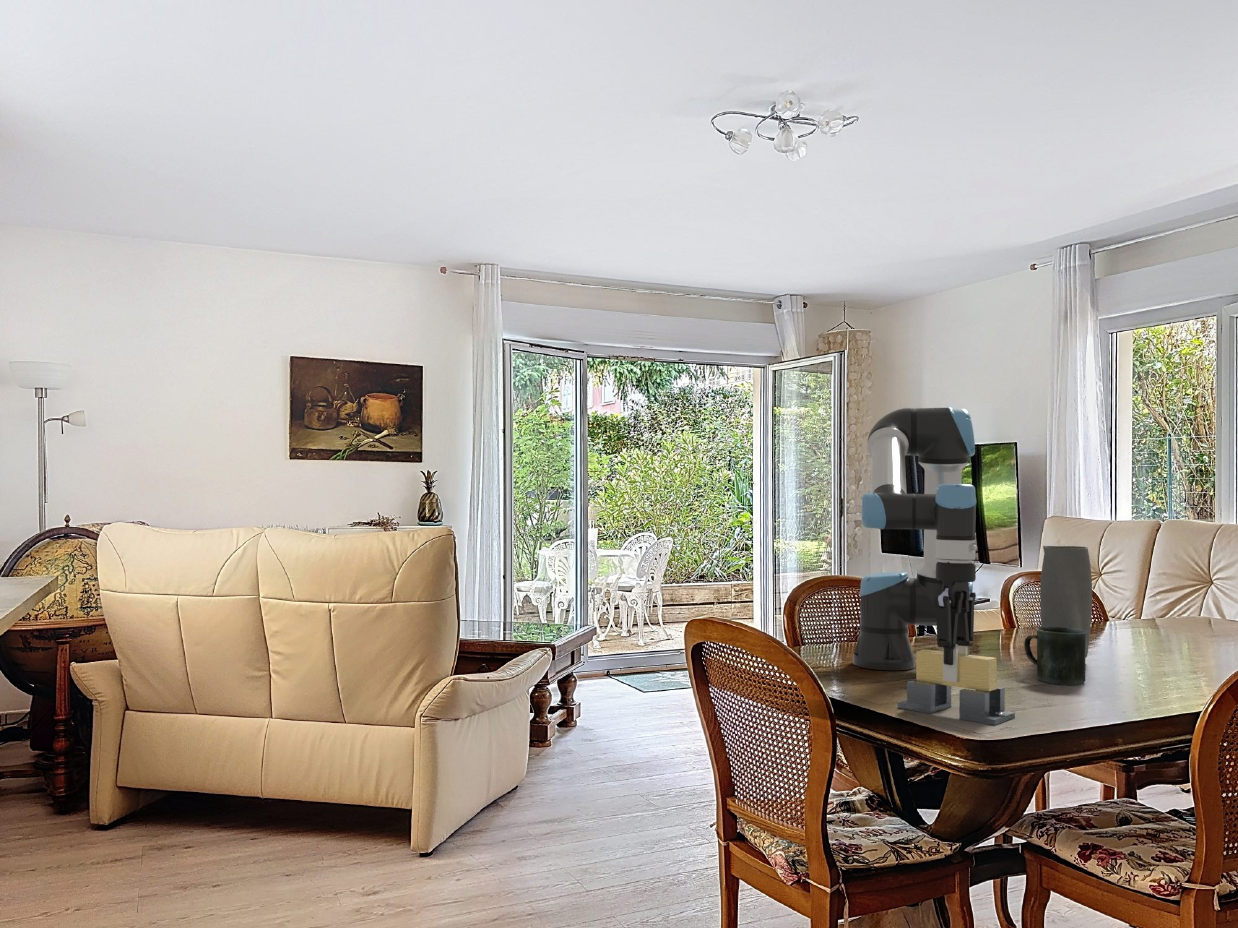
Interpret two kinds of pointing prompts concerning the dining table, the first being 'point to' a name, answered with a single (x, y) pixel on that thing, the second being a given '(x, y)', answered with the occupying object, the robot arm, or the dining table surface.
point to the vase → (1066, 589)
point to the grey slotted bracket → (926, 697)
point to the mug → (1059, 655)
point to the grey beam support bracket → (984, 706)
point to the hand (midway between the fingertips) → (955, 679)
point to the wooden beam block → (970, 670)
